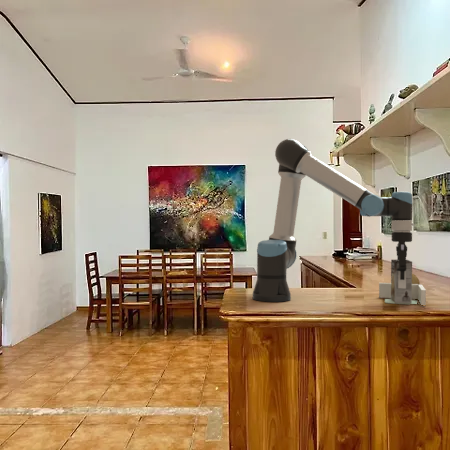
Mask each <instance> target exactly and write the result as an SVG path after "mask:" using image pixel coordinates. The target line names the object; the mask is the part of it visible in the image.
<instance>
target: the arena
mask: <svg viewBox="0 0 450 450" xmlns="http://www.w3.org/2000/svg"><path fill="white" fill-rule="evenodd" d="M426 294H427V289H426V288H425V287H424V286H423V284H412V300H415V299H418V300H419V301H418V300H417V301H418V303H419V302H420V303H419V304H421V305H427V303H426V302H427V297H426V296H427V295H426ZM378 298H380V299H391V282H378ZM421 305H420V306H421Z"/></svg>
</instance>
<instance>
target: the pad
mask: <svg viewBox="0 0 450 450" xmlns="http://www.w3.org/2000/svg"><path fill="white" fill-rule="evenodd" d="M417 302H418V300H415V299H412V303H395V302H394V301H393V300H391V298H384V303H385V304H394V305H395V304H396V305H398V304H399V305H410V304H417Z"/></svg>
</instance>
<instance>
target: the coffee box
mask: <svg viewBox="0 0 450 450" xmlns="http://www.w3.org/2000/svg"><path fill="white" fill-rule="evenodd" d="M390 265H391V266H390V283H391V298H390V299H391V300H393V301H394V302H395V303H412V300H413V299H412V274H413V261H411V260H409V259H406V268H407V269H406V289H403V288H398V271H397V268H399V260H397V259H391V262H390Z"/></svg>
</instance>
